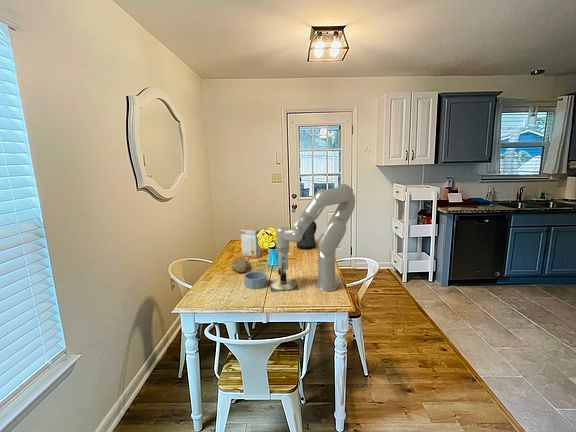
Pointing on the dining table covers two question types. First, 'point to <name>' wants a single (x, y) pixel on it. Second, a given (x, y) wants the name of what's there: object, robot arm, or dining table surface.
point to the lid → (283, 285)
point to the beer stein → (308, 238)
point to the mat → (286, 290)
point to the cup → (255, 280)
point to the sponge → (240, 264)
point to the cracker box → (250, 243)
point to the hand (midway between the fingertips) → (282, 277)
